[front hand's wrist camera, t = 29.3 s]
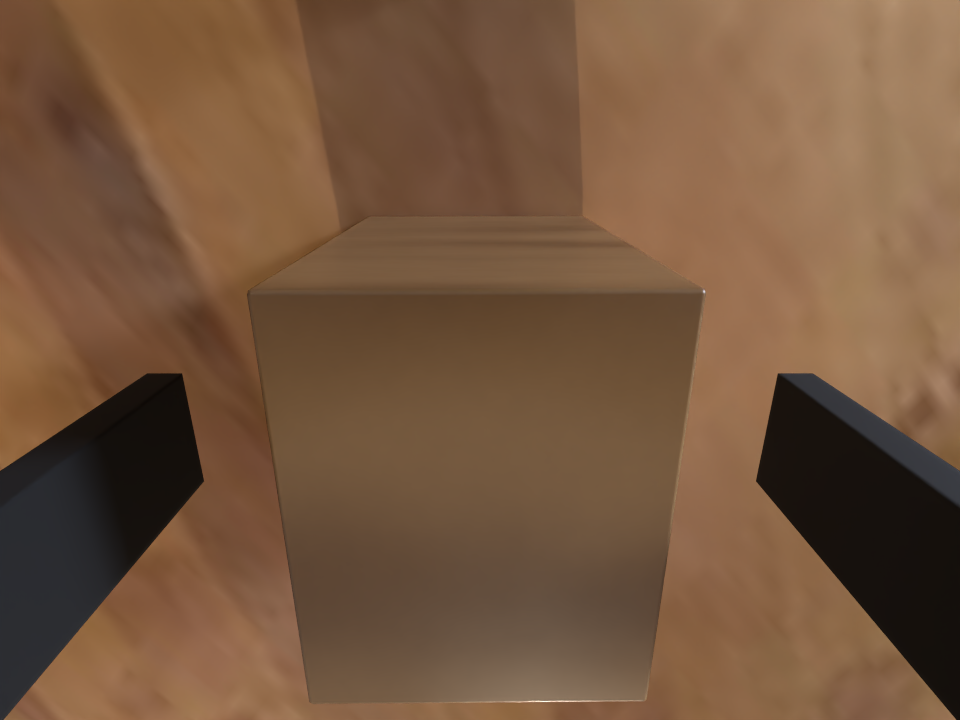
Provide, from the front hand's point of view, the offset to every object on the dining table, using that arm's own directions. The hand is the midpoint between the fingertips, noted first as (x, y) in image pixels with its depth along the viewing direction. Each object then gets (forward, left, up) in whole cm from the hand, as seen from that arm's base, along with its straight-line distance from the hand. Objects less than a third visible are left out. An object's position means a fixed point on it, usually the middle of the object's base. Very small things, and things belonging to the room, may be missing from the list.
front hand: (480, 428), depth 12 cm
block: (0, 0, -6) cm, 6 cm away
